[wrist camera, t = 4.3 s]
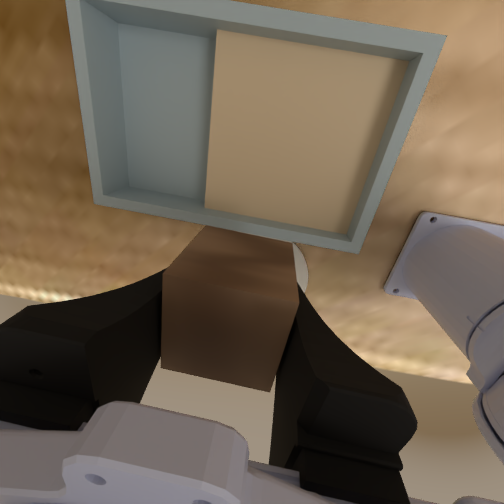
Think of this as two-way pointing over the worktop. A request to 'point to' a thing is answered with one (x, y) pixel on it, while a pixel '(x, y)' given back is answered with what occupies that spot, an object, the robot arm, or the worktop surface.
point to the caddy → (246, 113)
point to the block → (229, 307)
